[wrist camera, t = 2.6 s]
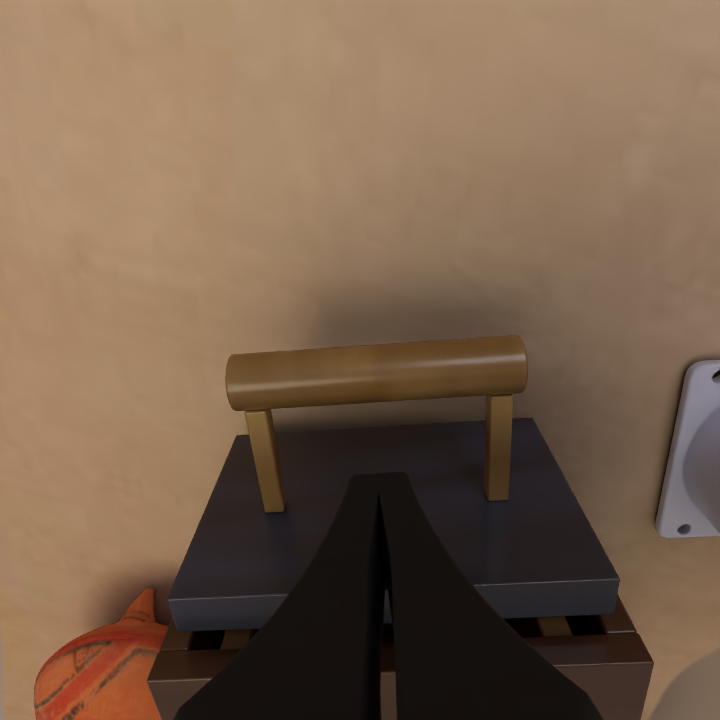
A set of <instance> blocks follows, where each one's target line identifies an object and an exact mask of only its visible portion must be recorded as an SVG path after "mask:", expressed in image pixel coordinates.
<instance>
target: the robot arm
mask: <svg viewBox="0 0 720 720" xmlns="http://www.w3.org/2000/svg"><path fill="white" fill-rule="evenodd" d="M717 371H720V360H705V361H699V362H696V363H694V364H692V365H691V366H690V367H689V368H688V369H687V372H686V374H685V379H684V384H683V389H682V394H681V399H680V404H679V408H678V413H677V418H676V423H675V428H674V433H673V438H672V443H671V448H670V453H669V458H668V463H667V468H666V473H665V478H664V483H663V488H662V493H661V498H660V503H659V508H658V513H657V517H656V522H655V528H656V530H657V531H658V533H659V534H660V535H661V536H662V537H664V538H686V537H707V536H720V374H719V375H718V376H717V377H715V378H712V377H713V375H714V373H716V372H717ZM681 525H683V526H682V527H680V526H681ZM386 582H387V589H388V596H389V604H390V611H391V618H392V625H393V632H394V646H395V675H396V706H397V720H603V718H602V716H601V714H600V713H599V711H598V710H597V708H596V706H595V705H594V703H593V701H592V700H591V698H590V697H589V695H588V693H586V692H585V691H584V690H582V689H581V688H580V687H579V686H577V685H576V684H575V683H574V682H572V681H571V680H570V679H569V678H567V677H566V676H565V675H564V674H562V673H561V672H560V671H559V670H558V669H556V668H555V667H554V666H553V665H552V664H550V663H549V662H548V661H547V660H546V659H545V658H544V657H542V656H541V655H540V654H539V653H538V652H537V651H536V650H535V649H534V648H533V647H531V646H530V645H529V644H528V643H527V642H526V641H525V640H524V639H523V638H522V637H521V636H520V635H519V634H518V633H517V632H516V631H515V630H514V629H513V628H512V627H511V626H510V625H509V624H508V623H507V622H506V621H505V620H504V619H503V618H502V617H501V616H500V615H499V614H498V613H497V612H496V611H495V610H494V609H493V608H492V607H491V606H490V605H489V603H488V602H487V601H486V600H485V599H484V598H483V597H482V595H481V594H480V593H479V592H478V591H477V590H476V588H475V587H474V586H473V585H472V583H471V582H470V581H469V580H468V579H467V577H466V576H465V575H464V573H463V572H462V571H461V570H460V568H459V567H458V565H457V564H456V563H455V561H454V560H453V559H452V557H451V556H450V554H449V553H448V551H447V550H446V548H445V547H444V545H443V544H442V542H441V541H440V539H439V538H438V536H437V535H436V533H435V531H434V529H433V528H432V526H431V524H430V523H429V521H428V519H427V517H426V516H425V514H424V512H423V510H422V508H421V506H420V504H419V502H418V500H417V498H416V495H415V493H414V491H413V488H412V486H411V483H410V479H409V475H407V474H406V473H405V472H388V473H371V474H354V475H353V476H352V477H351V478H350V479H349V483H348V486H347V489H346V492H345V495H344V497H343V500H342V502H341V504H340V507H339V509H338V511H337V514H336V516H335V518H334V520H333V522H332V524H331V526H330V528H329V530H328V532H327V534H326V536H325V537H324V539H323V541H322V543H321V544H320V546H319V548H318V550H317V551H316V553H315V555H314V556H313V558H312V560H311V562H310V563H309V565H308V566H307V568H306V569H305V571H304V573H303V574H302V576H301V577H300V579H299V580H298V581H297V583H296V584H295V586H294V587H293V588H292V590H291V591H290V593H289V594H288V595H287V597H286V598H285V599H284V601H283V602H282V603H281V604H280V606H279V607H278V608H277V609H276V611H275V612H274V613H273V615H272V616H271V617H270V618H269V619H268V621H267V622H266V623H265V624H264V625H263V627H262V628H261V629H260V630H259V631H258V632H257V633H256V634H255V636H254V637H253V638H252V639H251V640H250V641H249V642H248V643H247V644H246V645H245V646H244V647H243V648H242V649H241V650H240V651H239V652H238V653H237V655H236V656H235V657H234V658H233V659H232V660H231V661H230V662H229V663H228V664H227V665H226V666H225V667H224V668H223V669H222V670H221V671H220V672H219V673H218V674H216V675H215V676H214V677H213V678H212V679H211V680H210V681H209V682H208V683H206V684H205V685H204V686H203V687H202V688H201V689H200V690H199V691H198V692H197V693H195V694H194V695H193V696H192V697H191V698H190V699H189V700H188V701H187V702H185V703H184V704H183V705H182V706H181V707H179V709H178V711H177V713H176V715H175V717H174V719H173V720H381V657H382V639H383V621H384V603H385V584H386Z"/></svg>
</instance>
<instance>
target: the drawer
mask: <svg viewBox="0 0 720 720" xmlns="http://www.w3.org/2000/svg"><path fill="white" fill-rule="evenodd" d="M527 377H528V365H527V355H526V350H525V346H524V343H523V341H522V339H521V337H520V336H518V335H509V336H495V337H480V338H466V339H451V340H436V341H422V342H407V343H393V344H378V345H364V346H349V347H334V348H320V349H305V350H291V351H276V352H262V353H247V354H233V355H231V356H230V357H229V359H228V362H227V366H226V391H227V396H228V400H229V403H230V405H231V407H232V409H233V410H235V411H245V410H246V411H245V417H246V422H247V427H248V431H249V435H237V436H236V438H235V440H234V442H233V445H232V447H231V450H230V452H229V454H228V457H227V459H226V461H225V464H224V466H223V468H222V471H221V473H220V475H219V478H218V480H217V483H216V485H215V487H214V490H213V492H212V494H211V497H210V499H209V501H208V504H207V506H206V508H205V511H204V513H203V516H202V518H201V520H200V523H199V525H198V527H197V530H196V532H195V534H194V537H193V539H192V541H191V544H190V546H189V548H188V551H187V553H186V556H185V558H184V560H183V563H182V565H181V567H180V570H179V572H178V574H177V577H176V579H175V581H174V584H173V586H172V589H171V591H170V593H169V596H168V598H167V601H168V604H169V607H170V610H171V613H172V616H173V619H174V622H175V625H176V628H177V631H178V632H188V631H213V630H225V634H224V637H223V641H222V644H221V648H220V649H241V648H243V647H244V646H245V645H246V644H247V643H248V642H249V641H250V640H251V639H252V638H253V637H254V636H255V634H256V633H257V632H258V631H259V630H260V629H261V628H262V627H263V625H264V624H265V623H266V622H267V621H268V619H269V618H270V617H271V616H272V615H273V613H274V612H275V611H276V609H277V608H278V607H279V606H280V604H281V603H282V602H283V601H284V599H285V598H286V597H287V595H288V594H289V593H290V591H291V590H292V588H293V587H294V586H295V584H296V583H297V581H298V580H299V579H300V577H301V576H302V574H303V573H304V571H305V569H306V568H307V566H308V565H309V563H310V562H311V560H312V558H313V556H314V555H315V553H316V551H317V550H318V548H319V546H320V544H321V543H322V541H323V539H324V537H325V536H326V534H327V532H328V530H329V528H330V526H331V524H332V522H333V520H334V518H335V516H336V514H337V511H338V509H339V507H340V504H341V502H342V500H343V497H344V495H345V492H346V489H347V486H348V483H349V479H350V478H351V477H352V476H353V475H354V474H371V473H388V472H405V473H406V474H407V475H409V479H410V483H411V486H412V488H413V491H414V493H415V495H416V498H417V500H418V502H419V504H420V506H421V508H422V510H423V512H424V514H425V516H426V517H427V519H428V521H429V523H430V524H431V526H432V528H433V529H434V531H435V533H436V535H437V536H438V538H439V539H440V541H441V542H442V544H443V545H444V547H445V548H446V550H447V551H448V553H449V554H450V556H451V557H452V559H453V560H454V561H455V563H456V564H457V565H458V567H459V568H460V570H461V571H462V572H463V573H464V575H465V576H466V577H467V579H468V580H469V581H470V582H471V583H472V585H473V586H474V587H475V588H476V590H477V591H478V592H479V593H480V594H481V595H482V597H483V598H484V599H485V600H486V601H487V602H488V603H489V605H490V606H491V607H492V608H493V609H494V610H495V611H496V612H497V613H498V614H499V615H500V616H501V617H502V618H503V619H504V620H505V621H506V622H507V623H508V624H509V625H510V626H511V627H512V628H513V629H514V630H515V631H516V632H517V633H518V634H519V635H520V636H521V637H522V638H524V637H549V636H573V635H572V633H571V630H570V628H569V625H568V622H567V620H566V617H565V616H579V615H604V614H614V610H615V604H616V599H617V593H618V587H619V582H620V579H619V577H618V575H617V573H616V571H615V569H614V567H613V566H612V564H611V562H610V560H609V558H608V556H607V555H606V553H605V551H604V549H603V547H602V545H601V544H600V542H599V540H598V538H597V536H596V534H595V532H594V531H593V529H592V527H591V525H590V523H589V521H588V520H587V518H586V516H585V514H584V512H583V510H582V508H581V507H580V505H579V503H578V501H577V499H576V497H575V496H574V494H573V492H572V490H571V488H570V486H569V485H568V483H567V481H566V479H565V477H564V475H563V473H562V472H561V470H560V468H559V466H558V464H557V462H556V461H555V459H554V457H553V455H552V453H551V451H550V450H549V448H548V446H547V444H546V442H545V440H544V438H543V437H542V435H541V433H540V431H539V429H538V427H537V426H536V424H535V422H534V420H533V418H517V419H512V415H513V395H512V394H515V393H522V392H524V390H525V388H526V384H527ZM483 395H486V420H484V421H468V422H451V423H435V424H418V425H402V426H385V427H368V428H352V429H335V430H319V431H302V432H286V433H275V429H274V424H273V418H272V412H271V409H277V408H293V407H309V406H324V405H340V404H356V403H372V402H388V401H404V400H420V399H436V398H452V397H468V396H483ZM382 643H394V632H393V625H392V618H391V611H390V604H389V596H388V589H387V582H386V584H385V603H384V621H383V639H382Z"/></svg>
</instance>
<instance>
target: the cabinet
mask: <svg viewBox="0 0 720 720" xmlns="http://www.w3.org/2000/svg"><path fill="white" fill-rule="evenodd" d="M565 617H566V620H567V622H568V625H569V628H570V630H571V633H572V635H573V636H549V637H524V638H523V639H524V640H525V641H526V642H527V643H528V644H529V645H530V646H531V647H533V648H534V649H535V650H536V651H537V652H538V653H539V654H540V655H541V656H542V657H544V658H545V659H546V660H547V661H548V662H549V663H550V664H552V665H553V666H554V667H555V668H556V669H558V670H559V671H560V672H561V673H562V674H564V675H565V676H566V677H567V678H569V679H570V680H571V681H572V682H574V683H575V684H576V685H577V686H579V687H580V688H581V689H582V690H584V691H585V692H586V693H588V695H589V697H590V698H591V700H592V701H593V703H594V705H595V706H596V708H597V710H598V711H599V713H600V714H601V716H602V718H603V720H641V716H642V711H643V707H644V703H645V699H646V694H647V690H648V686H649V682H650V677H651V673H652V669H653V665H654V662H653V660H652V658H651V656H650V654H649V652H648V650H647V648H646V647H645V645H644V643H643V641H642V639H641V637H640V635H639V634H638V633H637V631H636V629H635V627H634V625H633V623H632V621H631V619H630V617H629V615H628V613H627V611H626V610H625V608H624V606H623V604H622V602H621V600H620V598H619V596H618V594H617V599H616V604H615V610H614V614H604V615H579V616H565ZM224 634H225V630H213V631H188V632H178V631H177V628H176V625H175V622H174V619H173V616H172V619H171V621H170V624H169V626H168V629H167V631H166V634H165V636H164V639H163V641H162V644H161V646H160V649H159V652H158V653H157V656H156V658H155V661H154V663H153V666H152V668H151V671H150V673H149V676H148V678H147V684H148V686H149V689H150V692H151V694H152V697H153V699H154V702H155V704H156V707H157V709H158V712H159V714H160V717H161V719H162V720H173V719H174V717H175V715H176V713H177V711H178V709H179V707H181V706H182V705H183V704H184V703H185V702H187V701H188V700H189V699H190V698H191V697H192V696H193V695H194V694H195V693H197V692H198V691H199V690H200V689H201V688H202V687H203V686H204V685H205V684H206V683H208V682H209V681H210V680H211V679H212V678H213V677H214V676H215V675H216V674H218V673H219V672H220V671H221V670H222V669H223V668H224V667H225V666H226V665H227V664H228V663H229V662H230V661H231V660H232V659H233V658H234V657H235V656H236V655H237V653H238V652H239V651H240V650H241V649H242V648H241V649H220V648H221V644H222V641H223V637H224ZM381 720H397V706H396V675H395V646H394V643H382V657H381Z"/></svg>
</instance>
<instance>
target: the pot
mask: <svg viewBox="0 0 720 720" xmlns="http://www.w3.org/2000/svg"><path fill="white" fill-rule="evenodd" d="M154 594H155V590H154V589H152V588H147V589H145V590H144V591H143V593H142V594H141V595H140V596H139V597H138V598H137V599H136V600H135V601H134V602H133V603H132V604H131V605H130V607H129V608H128V609H127V611H126V612H125V614H124V615H123V617H122V618H121V619H120V620H119V621H118V622H117V623H115V624H111V625H107V626H104V627H100V628H98V629H95V630H93V631H90V632H88V633H86V634H83V635H82V636H80V637H78V638H76V639H74V640H72V641H70V642H69V643H67V644H66V645H65V646H63V647H62V648H61V649H60V650H58V651H57V652H56V653H55V654H54V655H53V656H51V657H50V658H49V659H48V660H47V661H46V663H45V664H44V665H43V667H42V668H41V670H40V672H39V673H38V676H37V678H36V683H35V687H34V707H35V716H36V720H162V719H161V717H160V714H159V712H158V709H157V707H156V704H155V702H154V699H153V697H152V694H151V692H150V689H149V686H148V684H147V678H148V676H149V673H150V671H151V668H152V666H153V663H154V661H155V658H156V656H157V653H158V652H159V649H160V646H161V644H162V641H163V639H164V636H165V634H166V631H167V629H168V626H166V625H162V624H158V623H156V622H155V615H154Z"/></svg>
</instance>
